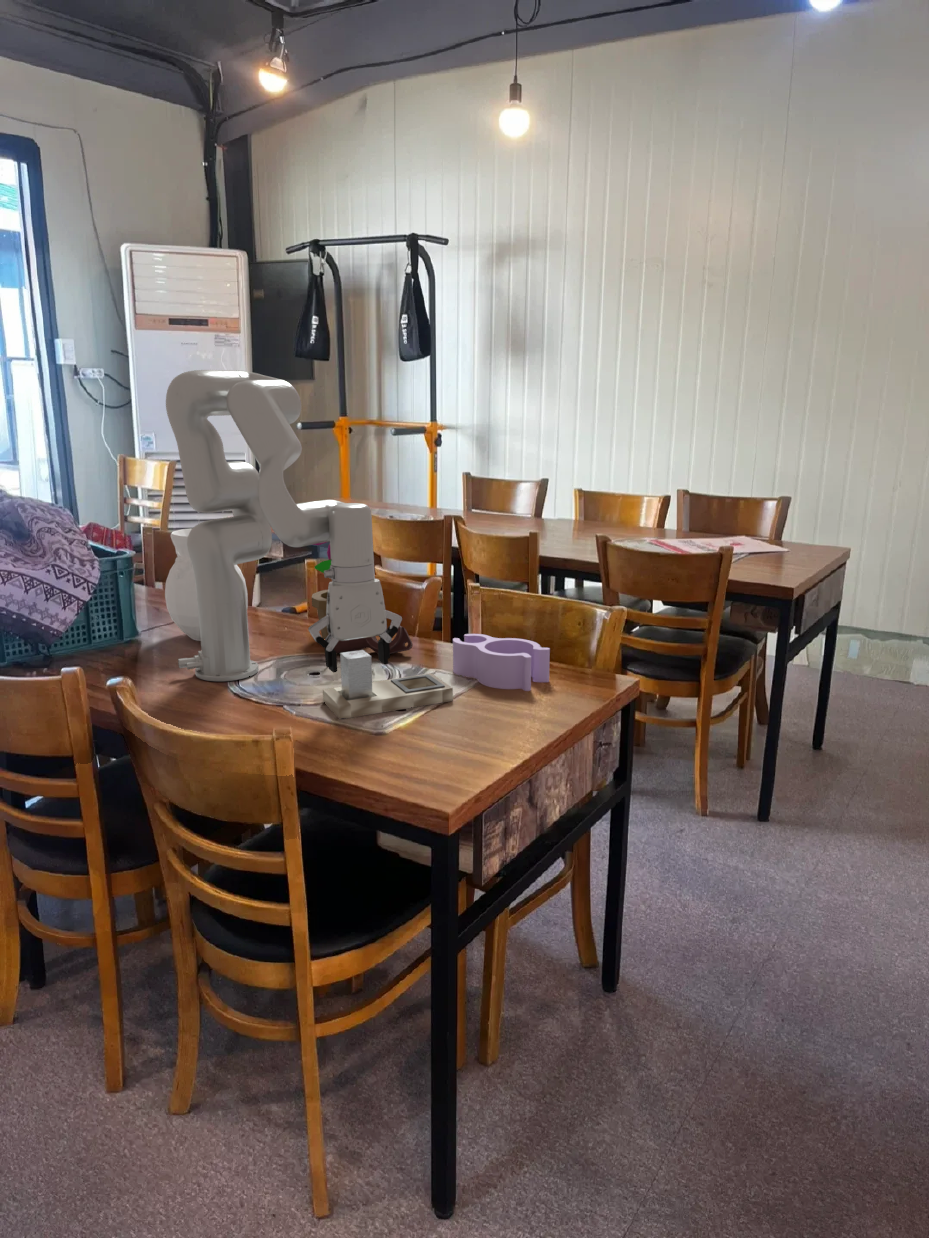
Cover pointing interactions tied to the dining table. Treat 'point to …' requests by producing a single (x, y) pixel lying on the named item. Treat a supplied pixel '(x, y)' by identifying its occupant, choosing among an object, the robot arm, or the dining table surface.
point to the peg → (356, 675)
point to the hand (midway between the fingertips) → (358, 666)
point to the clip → (501, 661)
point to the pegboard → (390, 696)
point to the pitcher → (185, 588)
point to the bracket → (376, 643)
